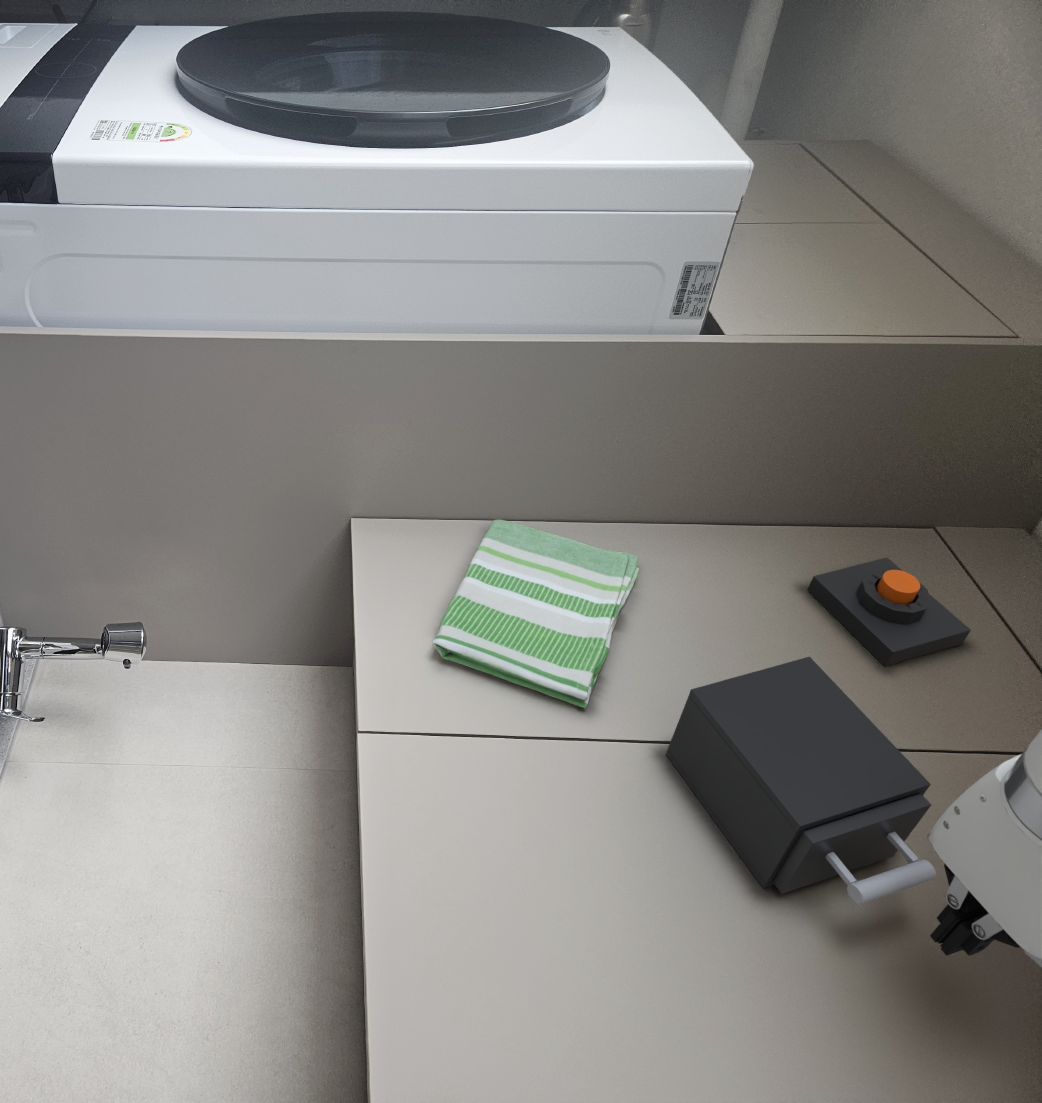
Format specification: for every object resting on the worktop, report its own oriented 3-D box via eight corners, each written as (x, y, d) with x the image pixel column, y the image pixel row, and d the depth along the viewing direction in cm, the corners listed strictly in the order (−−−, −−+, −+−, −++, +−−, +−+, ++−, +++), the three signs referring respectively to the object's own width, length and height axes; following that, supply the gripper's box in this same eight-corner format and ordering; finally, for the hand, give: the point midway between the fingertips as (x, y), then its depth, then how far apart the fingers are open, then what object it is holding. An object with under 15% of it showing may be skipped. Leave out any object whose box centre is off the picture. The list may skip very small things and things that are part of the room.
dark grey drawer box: (885, 847, 84) (931, 784, 77) (762, 888, 81) (800, 826, 75) (776, 721, 94) (809, 656, 88) (665, 754, 91) (690, 689, 85)
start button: (921, 600, 101) (928, 588, 100) (893, 607, 101) (900, 596, 99) (896, 578, 104) (902, 566, 103) (869, 585, 103) (875, 573, 102)
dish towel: (639, 569, 111) (644, 552, 109) (591, 714, 95) (596, 697, 93) (491, 527, 117) (493, 510, 115) (422, 657, 101) (424, 639, 99)
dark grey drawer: (932, 900, 79) (974, 850, 74) (816, 941, 77) (852, 892, 71) (790, 735, 92) (817, 682, 87) (687, 765, 89) (709, 713, 84)
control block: (962, 644, 101) (979, 617, 99) (884, 666, 99) (899, 640, 97) (879, 571, 110) (893, 545, 107) (806, 590, 108) (819, 564, 105)
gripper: (1247, 890, 54) (1081, 1023, 66) (1027, 695, 65) (919, 840, 77) (1145, 930, 53) (994, 1058, 65) (936, 724, 63) (841, 867, 76)
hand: (954, 940), depth 71 cm, fingers closed
